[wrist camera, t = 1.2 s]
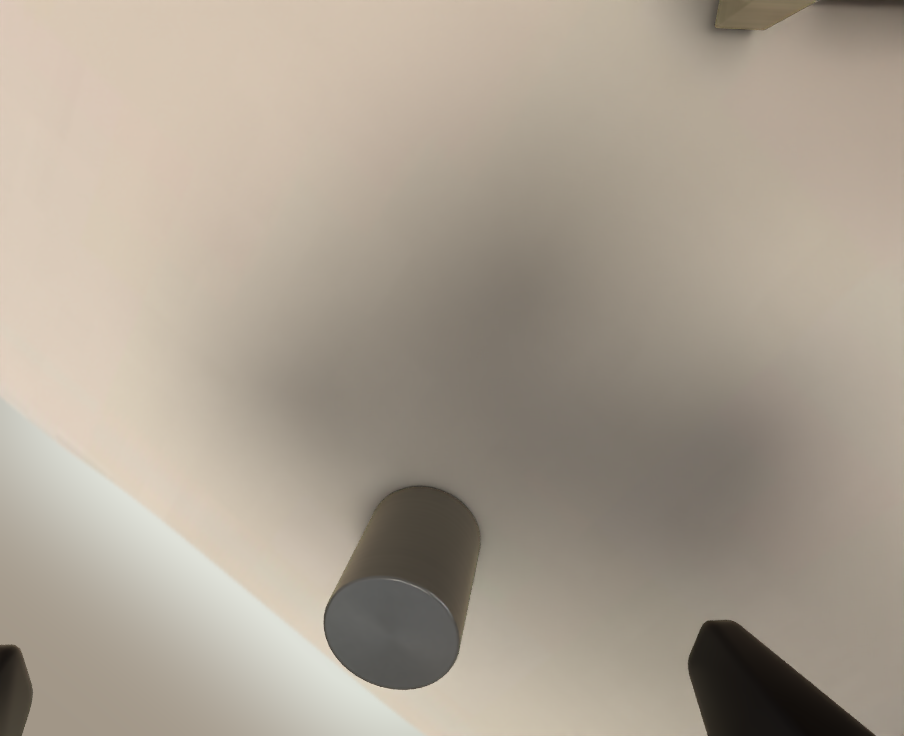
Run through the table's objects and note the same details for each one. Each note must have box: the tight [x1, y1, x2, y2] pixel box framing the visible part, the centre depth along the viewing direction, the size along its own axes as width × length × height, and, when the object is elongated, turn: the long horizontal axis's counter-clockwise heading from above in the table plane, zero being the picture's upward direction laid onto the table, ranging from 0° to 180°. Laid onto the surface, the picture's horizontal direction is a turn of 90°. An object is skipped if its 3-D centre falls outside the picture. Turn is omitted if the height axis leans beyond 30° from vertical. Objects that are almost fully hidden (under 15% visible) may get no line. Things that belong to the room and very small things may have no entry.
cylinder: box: [324, 487, 481, 690], centre depth 21 cm, size 4×4×5 cm
